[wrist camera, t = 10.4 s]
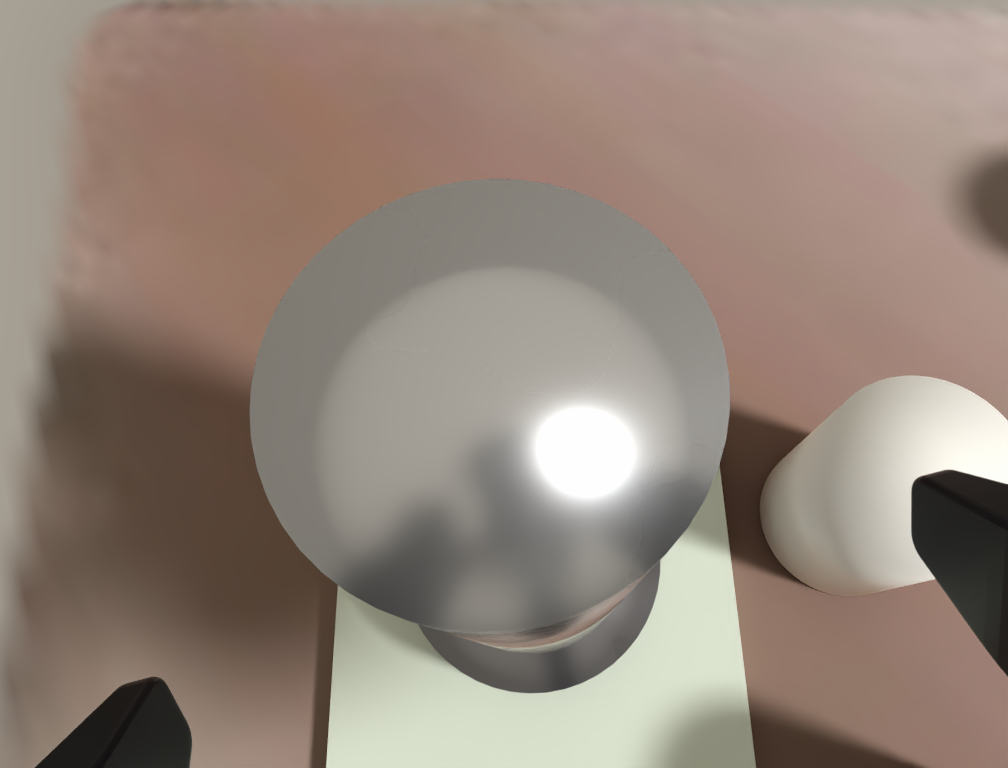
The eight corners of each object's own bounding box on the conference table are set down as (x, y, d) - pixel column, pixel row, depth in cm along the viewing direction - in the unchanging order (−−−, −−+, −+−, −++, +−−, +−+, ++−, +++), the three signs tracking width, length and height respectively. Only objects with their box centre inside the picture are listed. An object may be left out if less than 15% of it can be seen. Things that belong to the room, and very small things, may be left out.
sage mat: (752, 776, 17) (757, 779, 17) (331, 778, 18) (325, 781, 17) (704, 378, 21) (708, 371, 20) (355, 390, 21) (350, 384, 21)
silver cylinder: (698, 611, 18) (974, 500, 6) (484, 740, 18) (319, 902, 5) (573, 411, 20) (595, 33, 8) (377, 519, 20) (83, 280, 7)
